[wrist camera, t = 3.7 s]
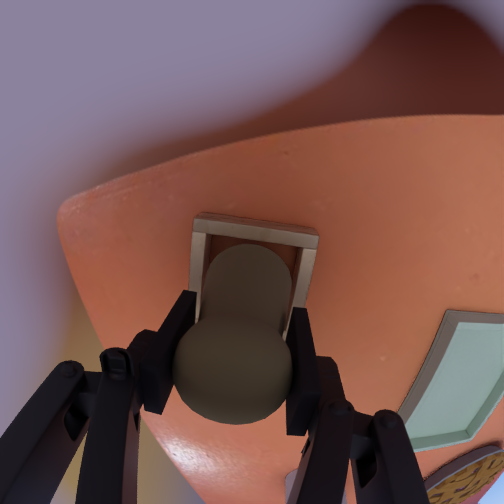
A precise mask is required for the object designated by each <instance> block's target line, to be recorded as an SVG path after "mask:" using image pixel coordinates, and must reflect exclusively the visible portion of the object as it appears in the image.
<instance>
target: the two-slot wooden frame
mask: <svg viewBox="0 0 504 504" xmlns="http://www.w3.org/2000/svg"><path fill="white" fill-rule="evenodd" d="M212 234H214V235H221V236H228V237H235V238H242V239H249V240H256V241H263V242H270V243H276V244H283V245H290V246H296V247H299V248H298V253H297V258H296V264H295V269H294V274H293V279H292V286H291V294H290V300H289V306H288V311H287V316H286V322H285V327H284V332H283V337H282V338H283V340H284V341H285V340H286V335H287V331H288V327H289V322H290V318H291V313H292V308H293V307H301V308H305V303H306V299H307V294H308V290H309V285H310V281H311V276H312V272H313V267H314V262H315V257H316V252H317V250H316V249H317V247H318V242H319V235H318V233H317V232H316V230H315V229H314V228H309V227H302V226H296V225H289V224H283V223H276V222H270V221H263V220H256V219H249V218H242V217H235V216H227V215H220V214H213V213H205V212H201V213H200V214H199V215H197V216H196V217H195V218H194V221H193V232H192V244H191V257H190V271H189V288H188V291H194V292H197V302H196V319H195V324H196V323H197V322H198V317H199V312H200V306H201V300H202V295H203V290H204V284H205V279H206V275H207V272H208V268H209V257H210V247H211V237H212Z"/></svg>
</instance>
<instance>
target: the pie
mask: <svg viewBox="0 0 504 504" xmlns="http://www.w3.org/2000/svg"><path fill="white" fill-rule="evenodd" d="M503 468H504V450H502V449H500V448H499V447H497V446H491V445H489V446H486V447H482V448H479V449H476V450H474V451H472V452H470V453H468V454H466V455H464V456H461V457H459V458H457V459H456V460H454V461H452V462H451V463H449V464H447V465H446V466H444V467H442V468H441V469H439V470H438V471H437V472H435V473H434V474H433V475H432V476H430V477H429V478H428V479H427V480H426V481H425V482H424V485H425V488H426V491H427V495H428V498H429V502H430V504H458V503H461V502H463V501H464V500H466V499H467V498H468V497H470V496H472V495H474V494H476V493H478V492H479V491H480V490H481V488H482V487H483V486H485V485H486V484H489V483H490V482H491V481H492V480H493V479H494V476H495V475H496V474H498V473H499V472H500V471H501V470H502V469H503Z"/></svg>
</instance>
